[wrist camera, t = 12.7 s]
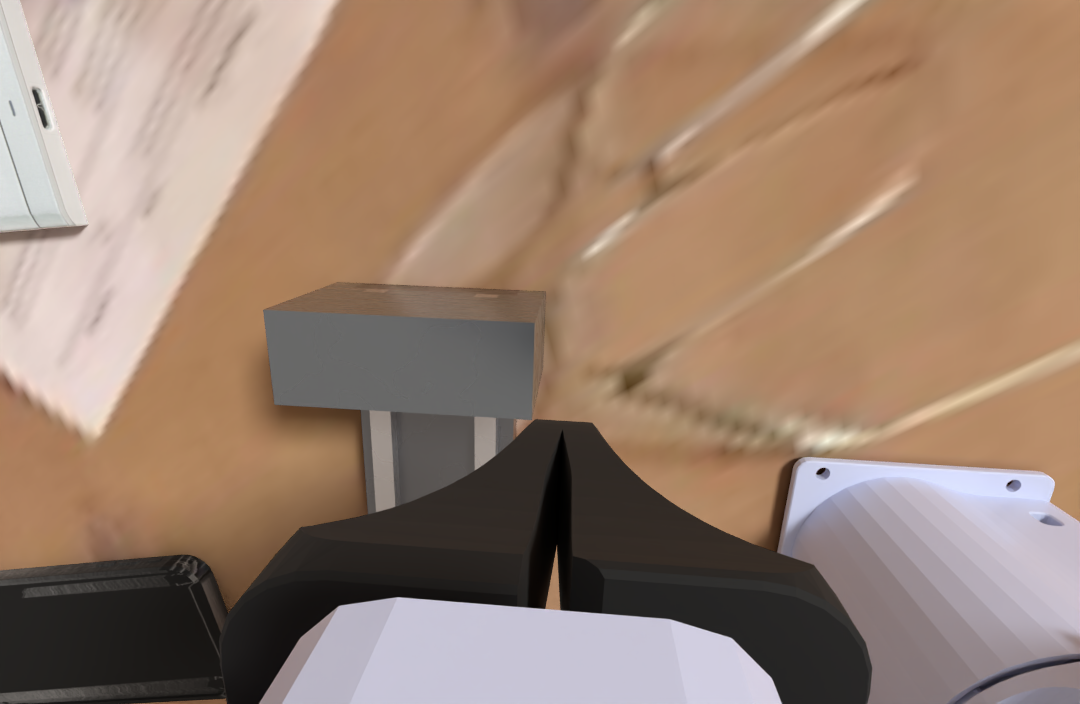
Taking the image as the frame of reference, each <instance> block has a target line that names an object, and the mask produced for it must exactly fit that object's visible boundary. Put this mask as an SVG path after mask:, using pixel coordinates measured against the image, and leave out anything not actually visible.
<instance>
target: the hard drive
mask: <svg viewBox="0 0 1080 704" xmlns="http://www.w3.org/2000/svg"><path fill="white" fill-rule="evenodd" d="M84 225H88V220H87V217H86V214H85V211H84V208H83V204H82V201H81V198H80V195H79V191H78V188H77V185H76V182H75V179H74V175H73V172H72V169H71V165H70V162H69V159H68V156H67V152H66V149H65V146H64V143H63V140H62V136H61V133H60V130H59V126H58V123H57V120H56V117H55V113H54V110H53V107H52V104H51V100H50V97H49V94H48V91H47V88H46V84H45V81H44V78H43V75H42V71H41V68H40V65H39V61H38V58H37V55H36V52H35V49H34V45H33V42H32V39H31V36H30V32H29V29H28V26H27V23H26V19H25V16H24V13H23V10H22V6H21V3H20V0H0V233H3V232H15V231H28V230H38V229H49V228H61V227H74V226H84Z"/></svg>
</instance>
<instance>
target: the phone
mask: <svg viewBox="0 0 1080 704" xmlns="http://www.w3.org/2000/svg"><path fill="white" fill-rule="evenodd" d="M227 614H228V612H227V609H226V607H225V604H224V601H223V599H222V596H221V593H220V591H219V588H218V585H217V583H216V580H215V577H214V575H213V573H212V571H211V569H210V567H209V566H208V565H207V564H206V563H205V562H204V561H202V560H200V559H199V558H197V557H194V556H191V555H174V556H162V557H151V558H139V559H128V560H116V561H105V562H93V563H82V564H70V565H58V566H47V567H35V568H24V569H12V570H1V571H0V704H132V703H151V702H170V701H189V700H208V699H225V698H226V695H225V689H224V683H223V678H222V672H221V667H220V644H219V638H220V635H221V632H222V629H223V626H224V623H225V620H226V617H227Z"/></svg>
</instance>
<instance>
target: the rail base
mask: <svg viewBox="0 0 1080 704" xmlns="http://www.w3.org/2000/svg"><path fill="white" fill-rule="evenodd" d="M545 297H546V292H541V291H519V290H496V289H474V288H452V287H429V286H407V285H385V284H362V283H340V282H337V283H334V284H332V285H329V286H326V287H324V288H321V289H318V290H315V291H313V292H310V293H307V294H305V295H302V296H299V297H296V298H294V299H291V300H288V301H286V302H283V303H280V304H278V305H275V306H272V307H269V308H267V309H264V310H263V312H264V321H265V329H266V337H267V346H268V354H269V362H270V371H271V379H272V387H273V396H274V404H275V405H288V406H305V407H322V408H339V409H356V410H361V422H362V436H363V450H364V465H365V479H366V493H367V507H368V514H372V513H375V512H379V511H383V510H386V509H390V508H393V507H396V506H399V505H402V504H405V503H408V502H411V501H413V500H416V499H418V498H421V497H423V496H425V495H428V494H430V493H432V492H435V491H437V490H439V489H442V488H444V487H446V486H448V485H450V484H452V483H454V482H456V481H458V480H459V479H461V478H463V477H465V476H467V475H468V474H470V473H472V472H473V471H475V470H476V469H478V468H479V467H481V466H482V465H484V464H485V463H486V462H488V461H489V460H490V459H492V458H493V457H494V456H496V455H497V454H498V453H500V452H501V451H502V450H503V449H504V448H505V447H506V446H507V445H509V444H510V443H511V442H512V441H513V440H514V439H515V438H516V419H524V420H532V417H533V412H534V407H535V403H536V398H537V393H538V389H539V384H540V379H541V375H542V370H543V353H544V325H545Z"/></svg>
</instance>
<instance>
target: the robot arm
mask: <svg viewBox="0 0 1080 704" xmlns="http://www.w3.org/2000/svg"><path fill="white" fill-rule="evenodd" d="M820 468H826V470H825V472H824V473H822V474H820V475H816V472H817V470H819V469H820ZM1011 480H1013V482H1012V483H1011V484H1010V485H1008V486H1006V485H1007V483H1008V482H1010V481H1011ZM1054 487H1055V482H1054V480H1053V479H1052V478H1051V477H1050V476H1048V475H1046V474H1045V473H1043V472H1039V471H1027V470H1010V469H994V468H978V467H962V466H945V465H929V464H913V463H897V462H880V461H864V460H848V459H832V458H815V457H804V458H801V459H799V460H798V461H797V462H796V463H795V464H794V467H793V471H792V476H791V482H790V487H789V492H788V497H787V503H786V508H785V513H784V519H783V524H782V529H781V535H780V540H779V545H778V551H777V552H774V551H771V550H768V549H765V548H762V547H759V546H756V545H754V544H751V543H749V542H747V541H744V540H742V539H740V538H737V537H735V536H733V535H730V534H728V533H726V532H723V531H721V530H719V529H717V528H715V527H713V526H711V525H709V524H707V523H705V522H703V521H702V520H700V519H698V518H696V517H695V516H693V515H691V514H689V513H688V512H686V511H684V510H682V509H681V508H679V507H678V506H676V505H675V504H673V503H672V502H670V501H669V500H667V499H666V498H665V497H663V496H662V495H660V494H659V493H658V492H656V491H655V490H654V489H652V488H651V487H650V486H649V485H647V484H646V483H645V482H644V481H643V480H641V479H640V478H639V477H638V476H637V475H636V474H635V473H634V472H633V471H632V470H631V469H630V468H629V467H628V466H627V465H626V464H625V463H624V462H623V461H622V460H621V459H620V458H619V457H618V455H617V454H616V453H615V452H614V451H613V450H612V448H611V447H610V446H609V445H608V443H607V442H606V441H605V439H604V438H603V437H602V435H601V434H600V432H599V431H598V430H597V428H596V427H595V426H594V425H593V423H589V422H572V421H555V420H538V419H535V420H534V421H533V422H532V423H531V424H530V425H528V426H527V427H526V428H525V429H524V430H523V431H522V432H521V433H520V434H519V435H518V436H517V437H516V438H515V439H514V440H513V441H512V442H511V443H510V444H509V445H507V446H506V447H505V448H504V449H503V450H502V451H501V452H500V453H498V454H497V455H496V456H494V457H493V458H492V459H490V460H489V461H488V462H486V463H485V464H484V465H482V466H481V467H479V468H478V469H476V470H475V471H473V472H472V473H470V474H468V475H467V476H465V477H463V478H461V479H459V480H458V481H456V482H454V483H452V484H450V485H448V486H446V487H444V488H442V489H439V490H437V491H435V492H432V493H430V494H428V495H425V496H423V497H421V498H418V499H416V500H413V501H411V502H408V503H405V504H402V505H399V506H396V507H393V508H390V509H386V510H383V511H379V512H375V513H372V514H368V515H364V516H360V517H356V518H350V519H345V520H340V521H335V522H329V523H324V524H319V525H314V526H307V527H301V528H300V529H299V530H298V531H297V532H296V533H295V534H294V535H293V536H292V537H291V538H290V539H289V540H288V542H287V543H286V544H285V545H284V546H283V547H282V548H281V549H280V550H279V551H278V553H277V554H276V555H275V556H274V557H273V559H272V560H271V561H270V562H269V564H268V565H267V566H266V567H265V569H264V570H263V571H262V572H261V573H260V575H259V576H258V577H257V578H256V580H255V581H254V582H253V583H252V584H251V586H250V587H249V588H248V589H247V591H246V592H245V593H244V594H243V595H242V597H241V598H240V599H239V600H238V602H237V603H236V604H235V605H234V607H233V608H232V609H231V610H230V612H229V613H228V614H227V617H226V620H225V623H224V626H223V629H222V632H221V635H220V638H219V644H220V667H221V672H222V678H223V683H224V689H225V695H226V700H227V704H1080V522H1079V521H1077V520H1076V519H1074V518H1073V517H1071V516H1070V515H1068V514H1067V513H1065V512H1064V511H1062V510H1061V509H1059V508H1058V507H1056V506H1055V505H1053V504H1052V503H1050V499H1051V496H1052V493H1053V490H1054ZM556 546H557V554H558V573H559V592H560V610H550V609H545V607H546V601H547V596H548V590H549V585H550V580H551V574H552V569H553V563H554V558H555V552H556Z"/></svg>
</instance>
